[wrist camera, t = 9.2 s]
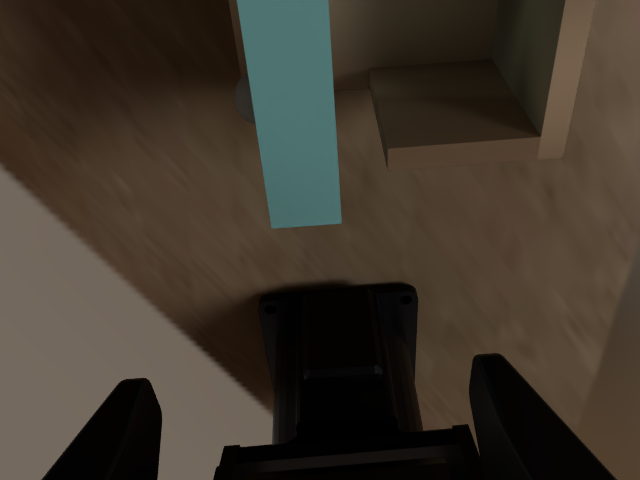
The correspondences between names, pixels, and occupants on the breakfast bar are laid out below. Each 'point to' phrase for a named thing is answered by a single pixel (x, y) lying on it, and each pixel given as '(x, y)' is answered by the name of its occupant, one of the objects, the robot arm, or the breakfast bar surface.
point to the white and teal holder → (292, 107)
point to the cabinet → (459, 74)
